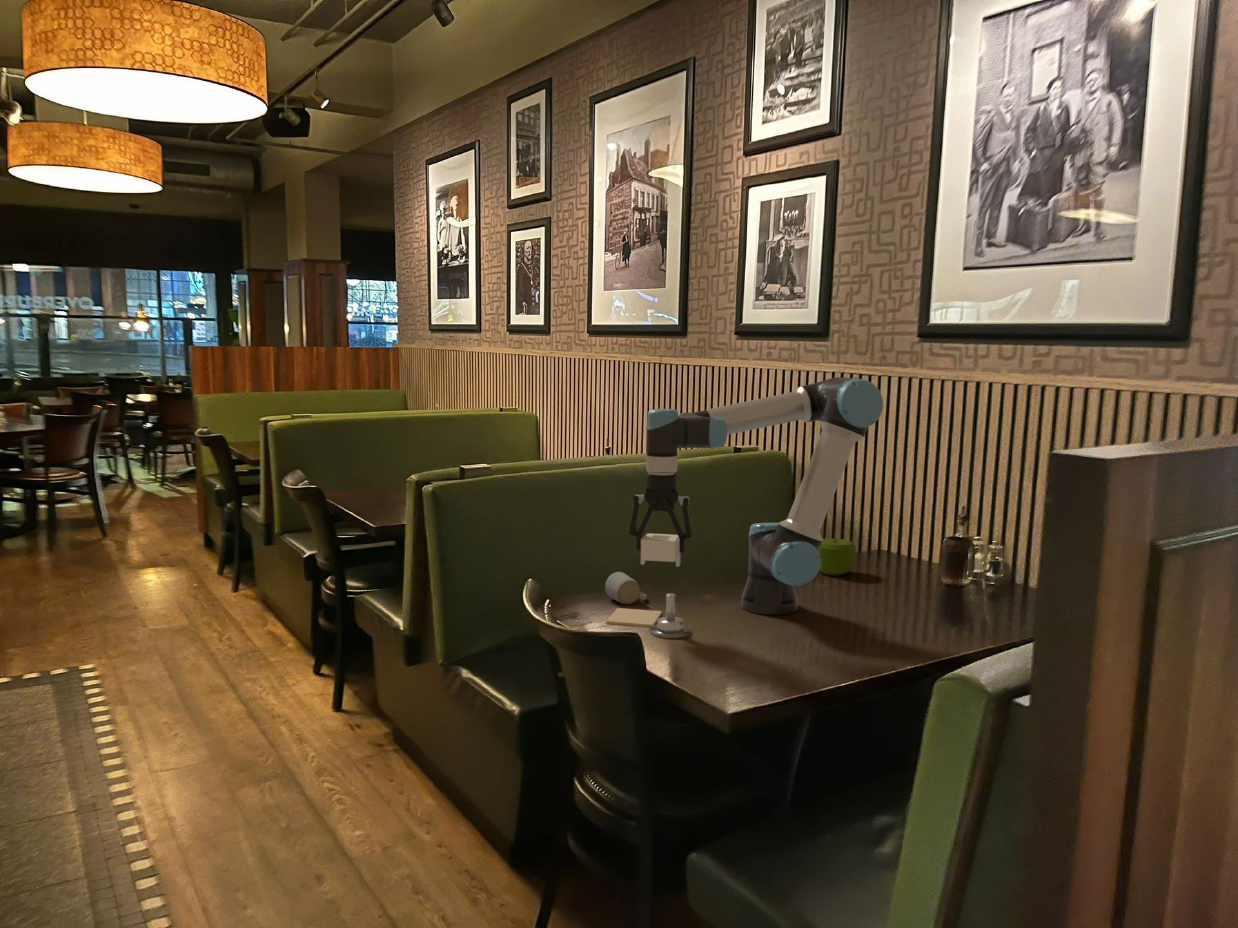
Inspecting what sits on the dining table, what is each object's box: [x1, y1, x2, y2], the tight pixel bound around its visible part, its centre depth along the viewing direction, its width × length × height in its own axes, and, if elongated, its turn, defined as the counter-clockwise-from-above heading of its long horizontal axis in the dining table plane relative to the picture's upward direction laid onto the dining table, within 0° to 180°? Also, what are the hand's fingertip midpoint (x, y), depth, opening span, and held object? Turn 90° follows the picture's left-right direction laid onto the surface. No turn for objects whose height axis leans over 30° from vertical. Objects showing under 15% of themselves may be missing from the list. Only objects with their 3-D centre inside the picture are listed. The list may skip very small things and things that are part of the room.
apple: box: [818, 537, 857, 577], centre depth 277 cm, size 12×12×11 cm
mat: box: [605, 607, 663, 628], centre depth 230 cm, size 12×12×1 cm
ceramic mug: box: [604, 571, 648, 606], centre depth 245 cm, size 11×8×8 cm
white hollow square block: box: [642, 533, 679, 563], centre depth 219 cm, size 8×8×5 cm
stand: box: [649, 592, 692, 640], centre depth 218 cm, size 10×10×10 cm
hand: (660, 564), depth 220 cm, fingers closed on white hollow square block, 8 cm apart
